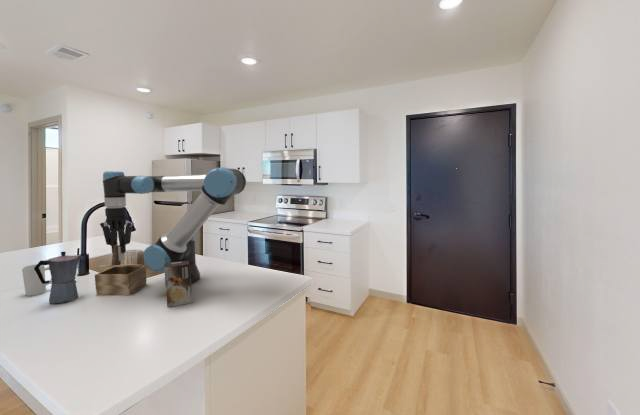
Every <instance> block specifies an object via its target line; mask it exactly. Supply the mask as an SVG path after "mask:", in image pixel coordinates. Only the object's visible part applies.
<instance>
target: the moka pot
mask: <svg viewBox="0 0 640 415" xmlns="http://www.w3.org/2000/svg"><path fill="white" fill-rule="evenodd" d="M66 254H67V253H66V251H61V252H60V255H59V256H55V257H51V258H49V259H45V260H40V261H38V263H36V264H37V265H36V266H35V267H34V270H35V271H36V273H37V275H38V277H39V279H40V281H41V282H42V284H46V283H49V282H50V281H49V280H46V279H45V280H44V278H43V276H42V274H41V272H40V269H39V267H40V266H41V265H44V266H49V268H50V270H49V273H50V277H51V278H52V284H50V285H51V286H50V291H49V292H50V293H49V299H48V301H49V303H50V304H61V303H62V304H63V303H68V302H71V301H74V300H76V299H78V298H79V292H78V288H77V280H76V275H77V269H78V265H79V263H80V260H81V259H82V257H83V256H81V255H79V254H77V255H66ZM51 278H50V279H51Z"/></svg>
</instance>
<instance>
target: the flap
mask: <svg viewBox="0 0 640 415" xmlns="http://www.w3.org/2000/svg"><path fill="white" fill-rule="evenodd" d="M118 245H119V244H118ZM118 245H114V246H113V253H112V255H111V256H112V257H111V264H101V265H97V268H106V267H107V268H108V267H109V268H111V267H129V266H144V265H143V264H142V263H141V264H139V263H135V264H134V263H133V264H130V263H129V264H128V263H127V264H126V263H125V264H121V263H122V261H119V256H118Z"/></svg>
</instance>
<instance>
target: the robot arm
mask: <svg viewBox="0 0 640 415" xmlns="http://www.w3.org/2000/svg"><path fill="white" fill-rule="evenodd" d="M206 173H207V174H184V175H182V174H181V175H125V173H124V171H119V170H117V171H114V170H113V171H111V170H110V171H109V170H105V171H103V173H102V186H103V194H104V196H103V198H104V207H105V209H104V211H105V217H106V219H105V221H103V222H100V223H99V225H100V227H101V228H102V232H103V236H104V241H105V244H106V245H109V246H110V247H111V253H112V254H113V246H114V245H118V256H119V261H121V262H122V261H124V260H125V259H126V258H125V253H126V251H127V249H126V245H129V244H130V243H131V238H132V229H133V226H134V222H132V221H130V220H128V218H127V215H128V214H127V212H128V211H127V210H128V209H127V199H126V198H127V196H126V194H133V195H135V194H137V195H144V194H150V193H167V192H168V193H170V192H201V193H200V194H199V195H198V197H197V198H196V199H195V200H194V202H193V203H192V204H191V205H190V207H189V208H188V209H187V210H186V211H185V212H184V213H183V215H182V216H181V217H180V218H179V220H178V221H177V222H176V223H175V225H173V227H172V228H171V229H170V230H169V232H167V233H166V232H165V233H163V234H161V236H160V237H159V238H158V239H157V240H156V242H155V243H154V244H151V245H149V246H147V247H146V248H145V249H144V250H143V253H142V254H143V255H142V256H143V259H144V260H143V262H144V264H145V266H146V268H148V269H149V270H151V271H153V272H162V271H164V264H165V263H172V262H180V261H189V264H190V277H191V284H194V283H197V282H198V281H199V280H200V279H201V272H200V270H199V269H198V266H197V262H196V241H195V235H196V234H197V232H198V231H199V230H200V229H201V227H203V225H204V224H206V222H207V220H208V219H209V218H210V217H211V215H212V214H213V213H214V212H215V211H216V210H217V209H218V207H219V206H225V204H226V203H227V202H228V201H229V200H230V199H231V198H232V197H233V196H235V195H239V194H241V193H242V192H243V191H244V189H245V188H246V185H247V180H246V177H245V174H243V172H242V171H240V170H239V169H238V168H237V169H236V168H228V167H223V166H222V167H216V168H213V169H210V171H208V172H206Z"/></svg>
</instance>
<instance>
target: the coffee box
mask: <svg viewBox="0 0 640 415" xmlns="http://www.w3.org/2000/svg"><path fill="white" fill-rule="evenodd" d="M163 271H164V282H165V284H164V285H165V296H166V307H167V308H172V307H174V306H175V307H176V306H182V305H185V304H186V305H187V304H192V303H193V295H192V294H193V293H192V283H191V277H190V264H189V261H180V262H172V263H165V264H164V270H163Z"/></svg>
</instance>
